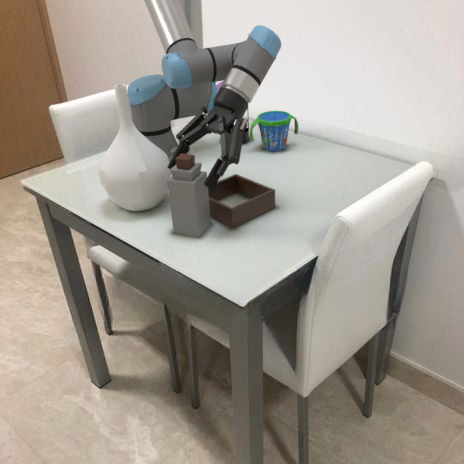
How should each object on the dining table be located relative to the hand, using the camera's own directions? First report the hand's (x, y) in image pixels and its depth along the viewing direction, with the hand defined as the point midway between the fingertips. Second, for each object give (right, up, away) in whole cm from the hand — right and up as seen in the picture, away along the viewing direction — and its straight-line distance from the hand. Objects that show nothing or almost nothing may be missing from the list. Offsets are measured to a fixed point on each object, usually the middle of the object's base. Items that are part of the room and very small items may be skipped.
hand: (189, 178), depth 115 cm
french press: (+11, +26, +54) cm, 61 cm away
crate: (+11, -4, +14) cm, 18 cm away
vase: (-15, -2, +19) cm, 24 cm away
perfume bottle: (0, -11, +7) cm, 13 cm away
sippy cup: (+23, +21, +47) cm, 56 cm away
